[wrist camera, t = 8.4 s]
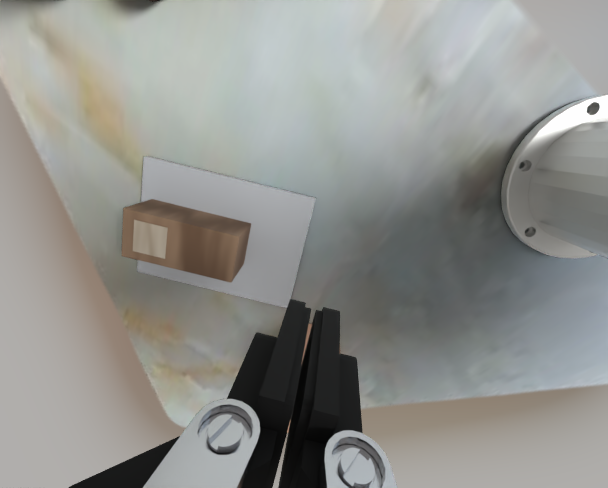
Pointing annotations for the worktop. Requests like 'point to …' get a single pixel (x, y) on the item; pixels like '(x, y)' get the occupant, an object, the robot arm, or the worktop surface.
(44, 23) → the worktop surface
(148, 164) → the mat
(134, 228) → the brown cardboard box
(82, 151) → the worktop surface
